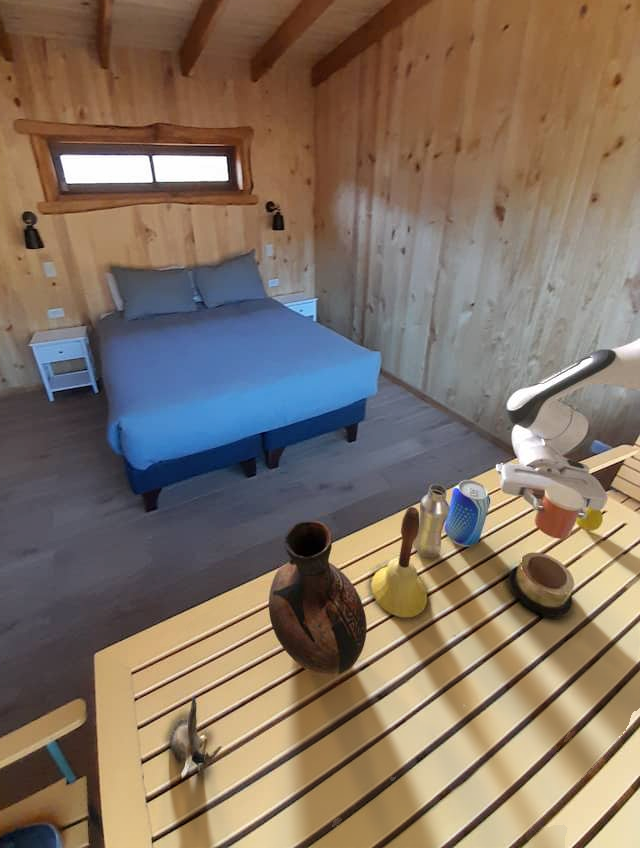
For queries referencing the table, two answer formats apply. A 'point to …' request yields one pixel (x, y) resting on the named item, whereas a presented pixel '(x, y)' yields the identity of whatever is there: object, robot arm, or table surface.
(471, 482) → the beer can
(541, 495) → the robot arm
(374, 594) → the handbell
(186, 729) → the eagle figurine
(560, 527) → the terracotta cup
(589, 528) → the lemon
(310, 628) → the ceramic vessel
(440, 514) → the silver metal bottle
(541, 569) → the tan hollow cylinder
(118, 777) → the table surface
